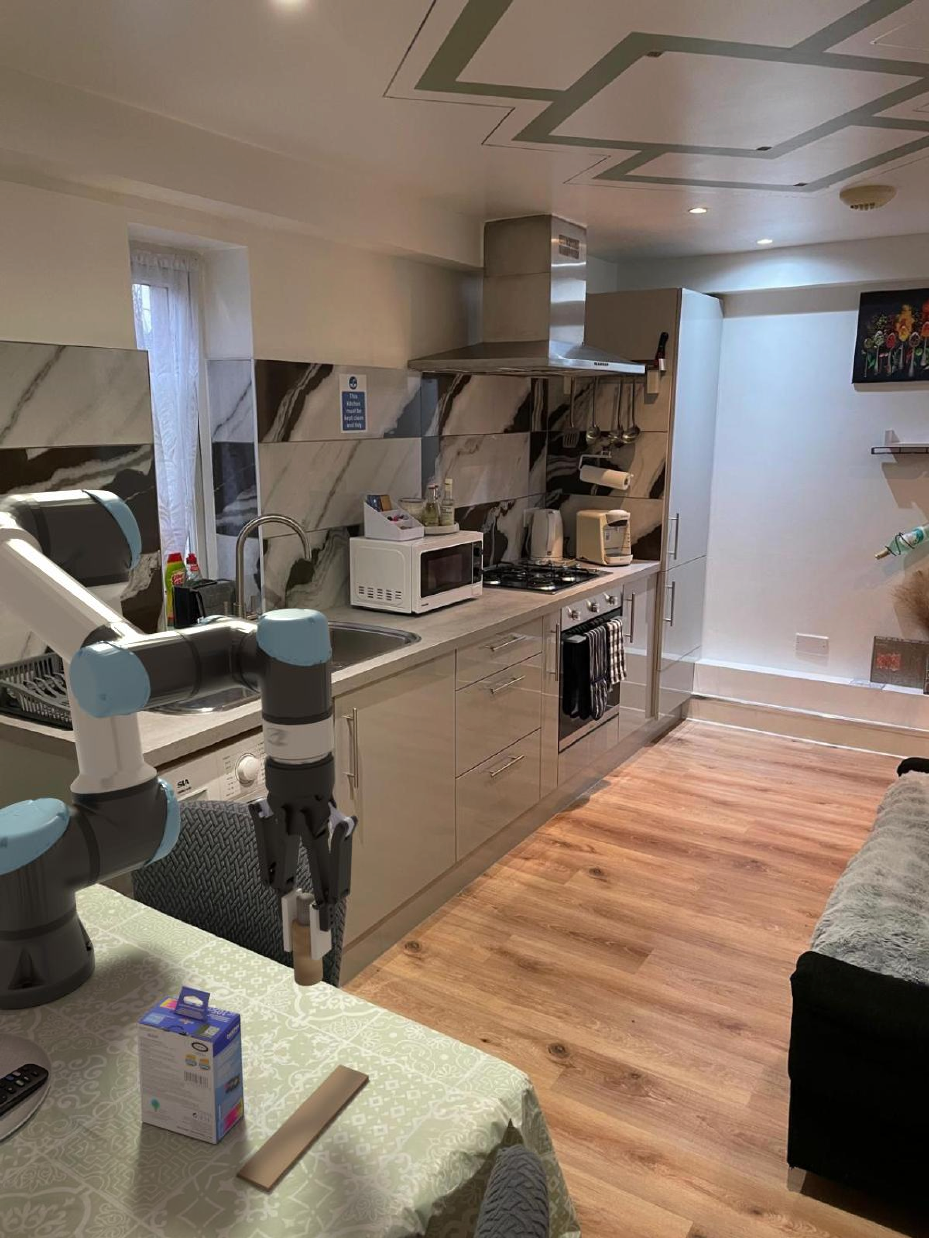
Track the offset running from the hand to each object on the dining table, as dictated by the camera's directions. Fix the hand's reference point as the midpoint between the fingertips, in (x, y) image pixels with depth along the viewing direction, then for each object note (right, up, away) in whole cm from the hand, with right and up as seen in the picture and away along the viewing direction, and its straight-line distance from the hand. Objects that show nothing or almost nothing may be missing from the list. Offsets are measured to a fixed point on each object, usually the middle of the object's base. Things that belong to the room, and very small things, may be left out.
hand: (307, 949), depth 105 cm
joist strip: (+1, -17, -5) cm, 18 cm away
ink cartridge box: (-12, -17, -5) cm, 21 cm away
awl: (0, -4, +1) cm, 4 cm away
